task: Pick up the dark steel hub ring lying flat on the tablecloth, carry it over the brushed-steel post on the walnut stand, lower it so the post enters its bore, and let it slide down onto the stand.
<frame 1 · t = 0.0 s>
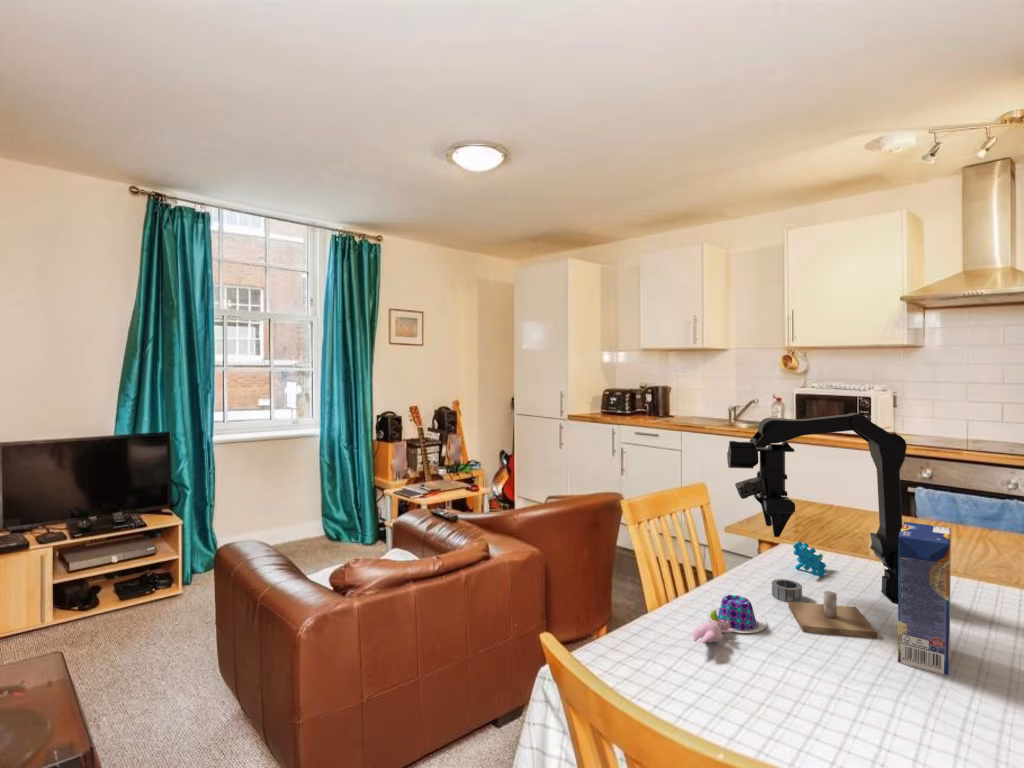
hand: (772, 531, 138), 15 cm above the table, fingers open, 9 cm apart
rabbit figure: (712, 641, 114), on the table, touching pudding
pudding: (736, 623, 122), on the table, touching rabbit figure
shaft stand: (830, 621, 121), on the table
gear: (810, 573, 149), on the table
juice carton: (924, 656, 106), on the table
hub ring: (786, 596, 134), on the table
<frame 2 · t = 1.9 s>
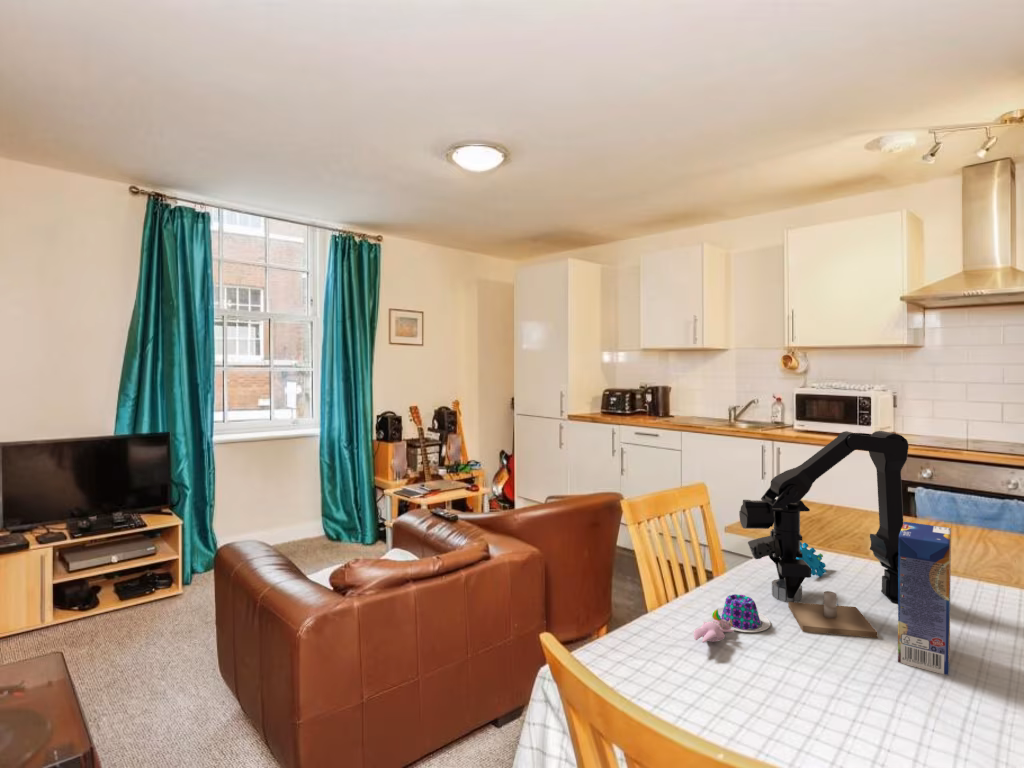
hand: (786, 592, 134), 1 cm above the table, fingers closed on hub ring, 6 cm apart
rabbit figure: (713, 640, 114), on the table
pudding: (740, 623, 122), on the table
hub ring: (786, 596, 134), on the table, touching gripper
everything else where it was.
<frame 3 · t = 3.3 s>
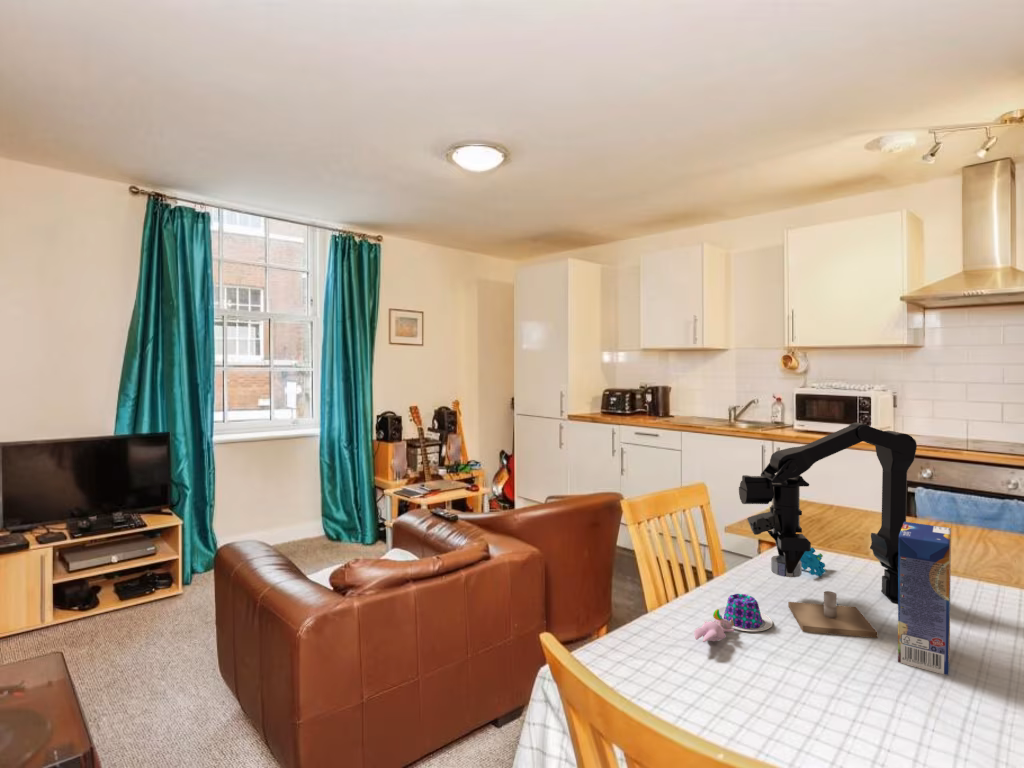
hand: (786, 567, 134), 7 cm above the table, fingers closed on hub ring, 6 cm apart
hub ring: (786, 572, 134), point 6 cm above the table, touching gripper
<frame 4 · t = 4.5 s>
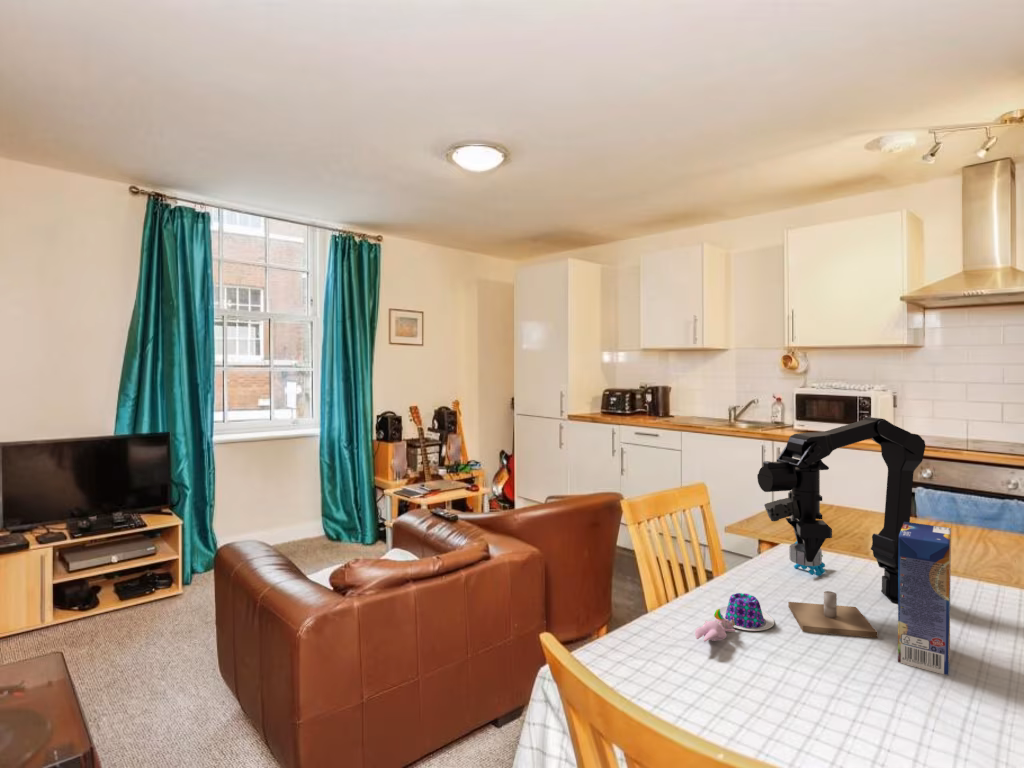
hand: (805, 556, 127), 12 cm above the table, fingers closed on hub ring, 6 cm apart
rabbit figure: (715, 639, 114), on the table, touching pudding
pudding: (744, 621, 123), on the table, touching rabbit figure
hub ring: (805, 560, 127), point 11 cm above the table, touching gripper
everything else where it was.
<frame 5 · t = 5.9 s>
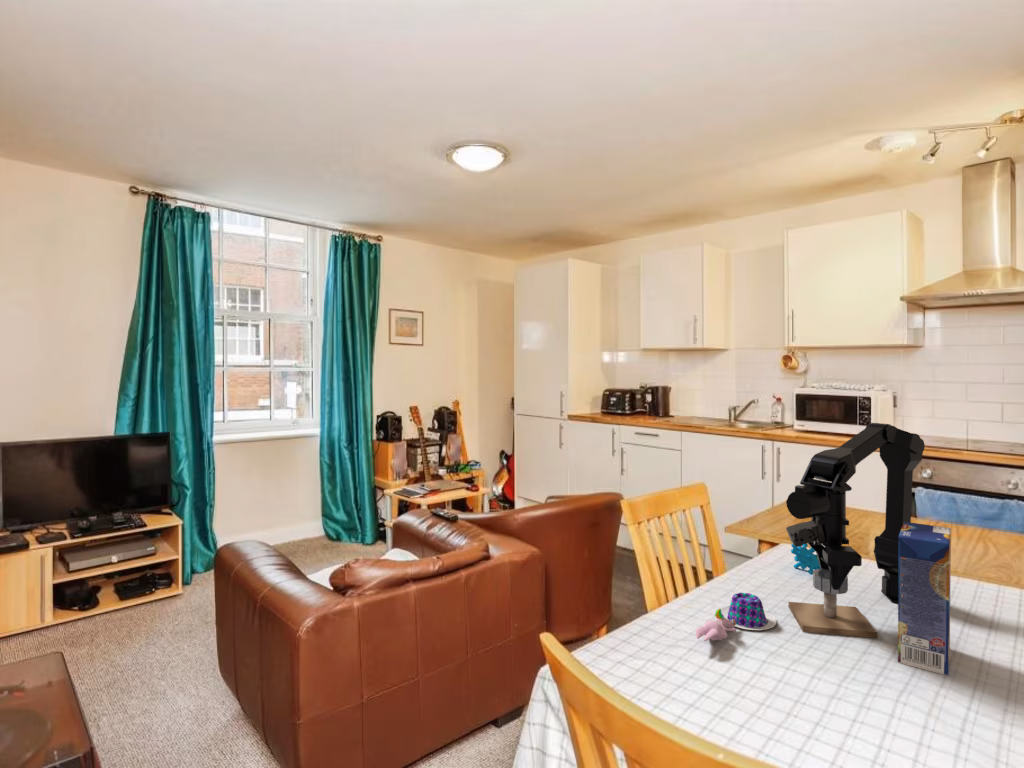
hand: (830, 583, 121), 8 cm above the table, fingers closed on hub ring, 6 cm apart
hub ring: (830, 587, 121), point 7 cm above the table, touching gripper
when the fingers open (6 cm above the table, at t = 7.0 s): hub ring drops 4 cm, resting on shaft stand.
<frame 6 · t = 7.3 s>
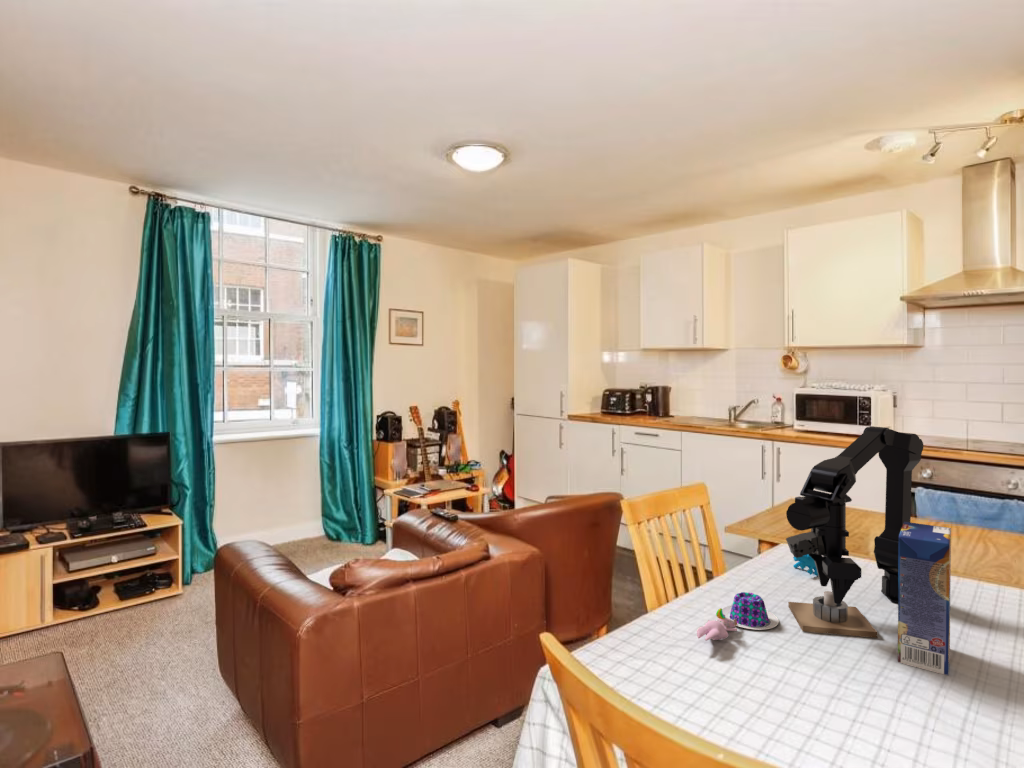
hand: (830, 594, 121), 6 cm above the table, fingers open, 9 cm apart
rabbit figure: (717, 639, 114), on the table
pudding: (748, 620, 123), on the table
hub ring: (830, 616, 121), point 1 cm above the table, touching shaft stand
everything else where it was.
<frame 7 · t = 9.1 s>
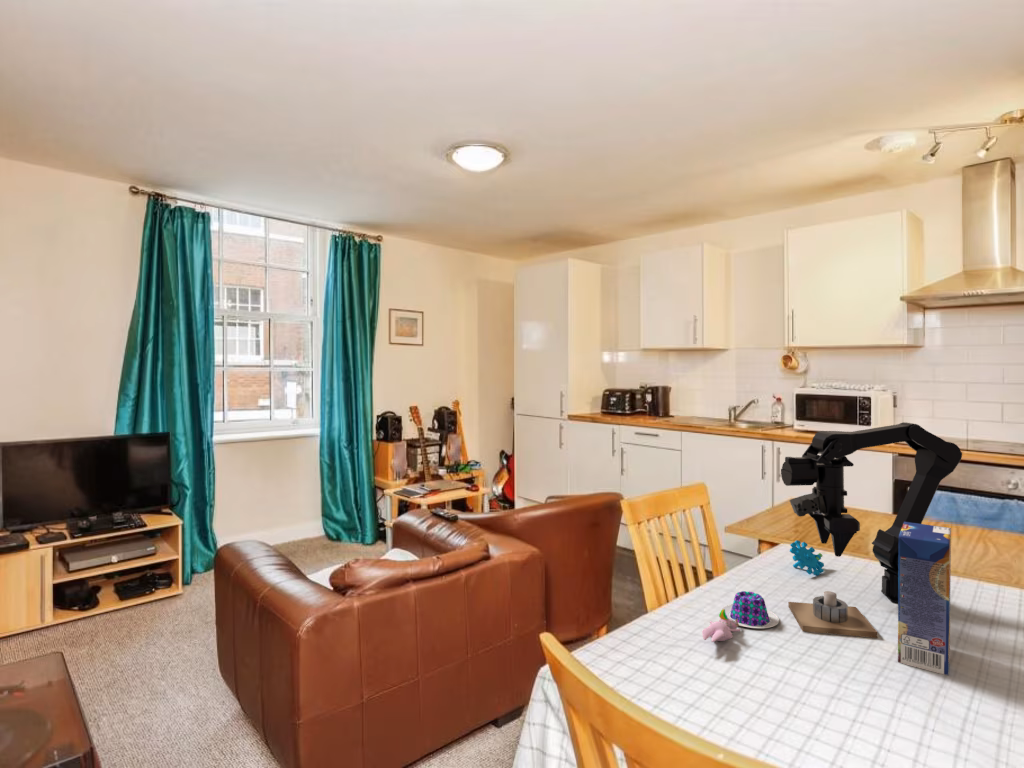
hand: (830, 549, 132), 12 cm above the table, fingers open, 9 cm apart
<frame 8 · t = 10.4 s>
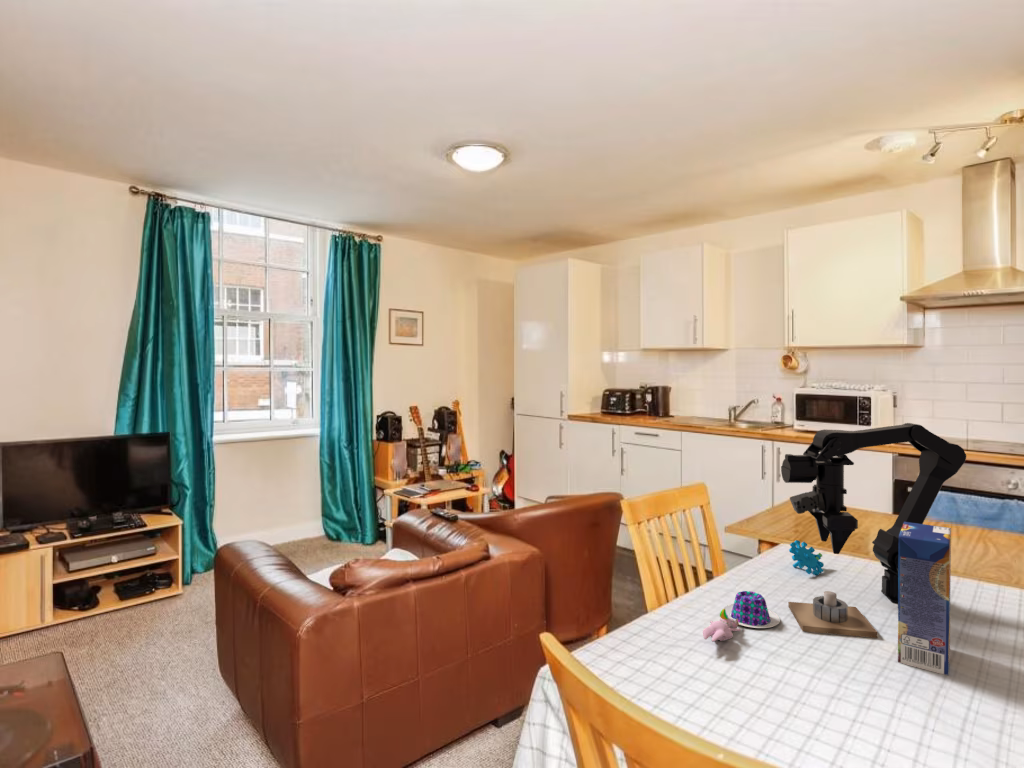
hand: (829, 547, 133), 12 cm above the table, fingers open, 9 cm apart
at the end: hub ring 0.0 cm off-centre on the shaft stand, point 1.2 cm above the shaft stand's base; the gripper is holding nothing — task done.
